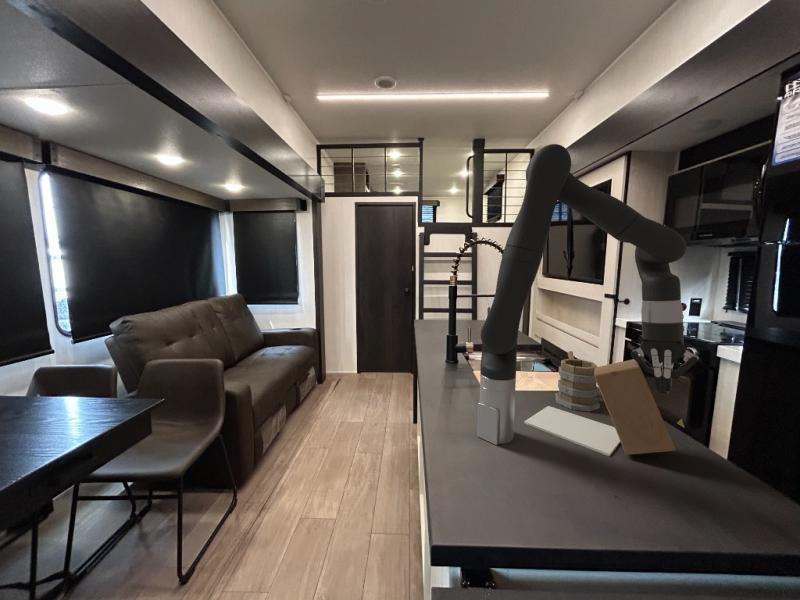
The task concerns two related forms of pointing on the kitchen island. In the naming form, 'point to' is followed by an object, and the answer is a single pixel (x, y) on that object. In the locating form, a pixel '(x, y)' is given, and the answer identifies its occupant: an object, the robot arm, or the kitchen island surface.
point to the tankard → (577, 384)
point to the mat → (576, 429)
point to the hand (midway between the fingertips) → (664, 392)
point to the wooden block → (632, 408)
